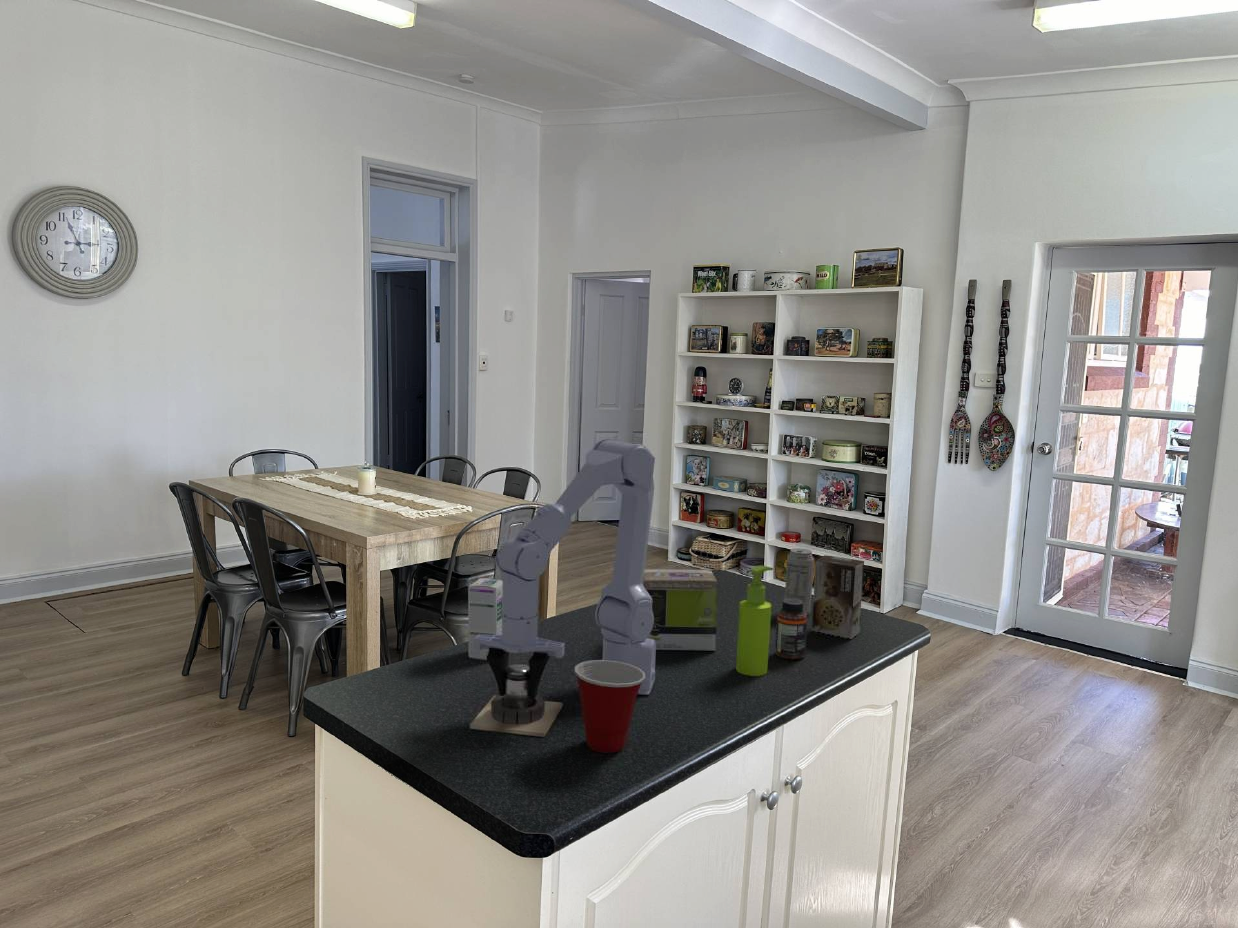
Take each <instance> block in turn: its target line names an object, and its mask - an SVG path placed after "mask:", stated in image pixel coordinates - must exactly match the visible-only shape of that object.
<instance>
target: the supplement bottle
mask: <svg viewBox="0 0 1238 928" xmlns="http://www.w3.org/2000/svg"><path fill="white" fill-rule="evenodd" d="M775 628H776V629H775V630H776V632H775V646H774V647H775V648H774V649H775V655H776V656H777V657H778V658H780V659H781V658H782V659H785V660H789V659H791V660H790V661H793V660H794V659H796V660H801V659H803V658H804V657H805V656H806V647H807V646H806V645H807V644H806V643H807V641H806V640H807V630H808V629H807V628H808V616H807V614H806V613H805V612H804V611H803V601H801V600H798V599H792V598H788V599H785V598H784V599H783V600H782V607H781V609H779V610H778V611H777V614H776V627H775ZM794 661H795V660H794Z"/></svg>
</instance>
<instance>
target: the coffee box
mask: <svg viewBox="0 0 1238 928" xmlns="http://www.w3.org/2000/svg"><path fill="white" fill-rule="evenodd" d="M814 564H815V565H814V584H813V585H814V587H813V602H812V604H813V605H812V616H811V617H812V618H811V630H812V631H815V632H814V633H817V632H822V633H825V634H824V635H827V634H831V635H830V636H832V635H834V636H833V637H837V636H840V637H839V638H842V637H843V639H847V638H849V639H848V640H852V639H853V638H855V637H854V636H858V635H859V634H860V629H861V613H862V611H861V610H862V599H863V598H862V597H863V583H864V581H863V580H864V567H865V566H864V565H865V561H864V560H859V559H852V558H847V557H840V556H834V555H833V556H832V555H826V554H825V555H822V556H821V557H819V558H818V559H817V560H814ZM812 631H811V632H812ZM822 633H821V634H822Z"/></svg>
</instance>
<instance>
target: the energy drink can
mask: <svg viewBox="0 0 1238 928" xmlns="http://www.w3.org/2000/svg"><path fill="white" fill-rule="evenodd" d="M812 553H813V552H812V551H811V550H810V549H806V548H791V549H790V552H789V554H787V558H786V570H785V571H786V572H785V589H784V590H785V591H784V599H788V598H792V599H798V600H801V601H803V611H804V612H805V613H806V614H807V615H808V616H809V614H810V613H811V608H812V607H811V606H812V594H813V592H812V591H813V581H814V580H813V578H814V566H815V565H814V564H815V557H814V556H813V554H812Z"/></svg>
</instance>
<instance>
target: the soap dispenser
mask: <svg viewBox="0 0 1238 928" xmlns="http://www.w3.org/2000/svg"><path fill="white" fill-rule="evenodd" d="M773 569H774V568H773V567H771V566H766V565H755V566H753V567H752V568H749V569H748V572H749V573H750V574H752V578H751V579H752V580H751V581H752V582H749V583H748V584H747V587H746V588H747V589H746V599H743V600H740V601H739V609H738V610H739V612H738V625H737V626H738V629H737V644H736V665H735V670H736V672H738V673H739V674H741V675H745V676H748V675H749V676H750V677H760V676H761V675H762V676H765V675H767V673H768V665H769V664H768V663H769V649H770V632H771V619H772V617H771V615H772V611H771V610H772V604H771V603H770V602H768V601H766V589H767V587H766V585H764V584H763V583H762V578H763V577H762V576H763V573H764V572H767V571H773ZM764 674H765V675H764Z"/></svg>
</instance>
